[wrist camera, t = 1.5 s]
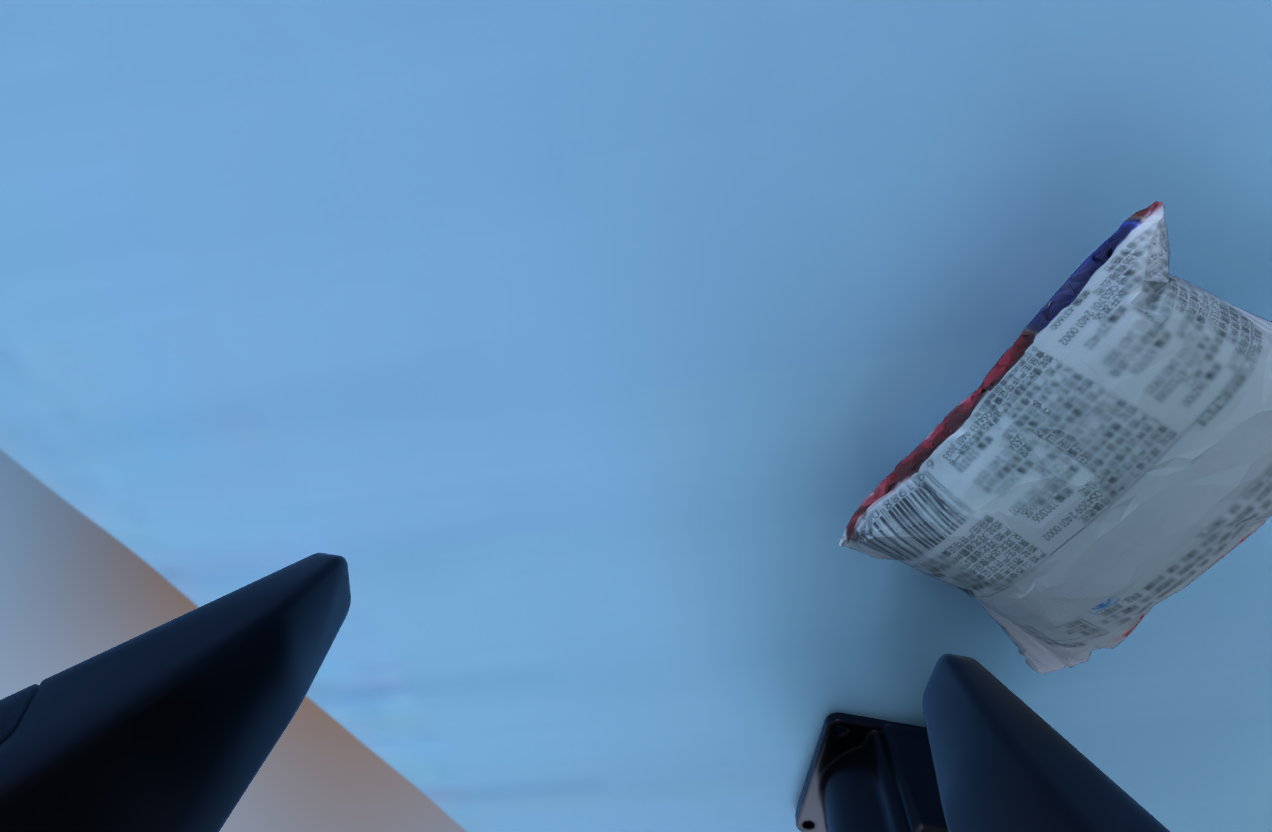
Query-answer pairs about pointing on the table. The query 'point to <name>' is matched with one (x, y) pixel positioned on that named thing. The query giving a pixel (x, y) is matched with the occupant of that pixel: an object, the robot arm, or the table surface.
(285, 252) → the table surface
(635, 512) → the table surface
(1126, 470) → the packaged food
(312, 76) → the table surface
